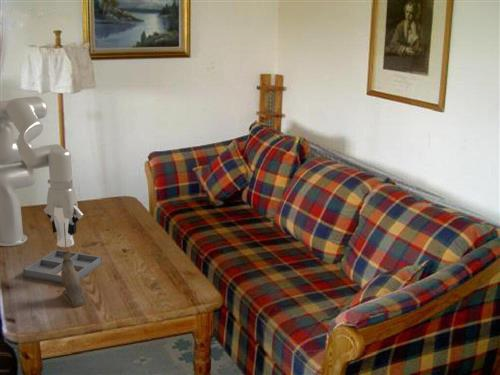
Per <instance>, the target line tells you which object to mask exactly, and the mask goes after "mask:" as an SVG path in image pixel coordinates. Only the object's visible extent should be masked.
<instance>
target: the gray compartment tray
mask: <svg viewBox="0 0 500 375" xmlns="http://www.w3.org/2000/svg"><path fill="white" fill-rule="evenodd" d="M66 251H67V250H61V249H55V250H53V251H52V252H50V253H48V254H47V255H45V256H44V257H42V258H40V259H37V261H35V262H33V263H32V264H30V265H28V266H26V267H25V268H23V277H24V278H28V279H35V280H39V281H45V282H51V283H56V284H59V285H60V284H61V285H63V282H62V276H61V272H62V271H63V265H62V264H63V260H64V259H63V253H64V252H66ZM69 252H70V253H71V255H72V256H71V258H70V260H72V262H73V265H74V269H76V272H77V275H78V279H79V281H81V279H83V278H85V277H86V276H88V274H90V273H92V272H93V271H94V269H95V270H96V269H97V268H99V267H100V266H101V265H103V257H102V256H97V255H93V254H92V255H91V254H88V253H87V254H85V253H79V252H73V251H69Z"/></svg>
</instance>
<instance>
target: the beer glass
mask: <svg viewBox="0 0 500 375" xmlns="http://www.w3.org/2000/svg"><path fill="white" fill-rule="evenodd" d="M53 217H54V224H55V228H56V231H57V232H56V246H57V247H58V248H69V247H73V245H75V240H74V236H73V235H74V234H73V235H70V233H69V225H70V222H69V218H65V217H64V214H63V208H60V207H54V216H53ZM72 219H73V217H72Z"/></svg>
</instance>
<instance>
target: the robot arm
mask: <svg viewBox="0 0 500 375" xmlns="http://www.w3.org/2000/svg"><path fill="white" fill-rule="evenodd" d="M47 114H48V107H47V104H46V101H45V100H44V99H43V98H42V97H39V96H28V97H17V98H12V99H11V100H10V99H8V100H6V99H5V100H0V166H4V167H0V246H1V247H16V246H20V245H22V244H24V243H26V242H27V241H28V236H27V235H26V234H24V231H23V230H24V229H23V218H22V207H21V206H22V205H21V200H20V197H19V196H18V195H17V194H16V193H15V192H14V191H15V190H19V189H24V188H29V187H32V186H34V185H35V183H36V180H37V179H36V178H37V176H36V174H37V173H36V170H38V169H43V168H48V173H49V179H48V180H47V184H49V187H48V190H47V196H46V206H45V208H44V209H43V212H44V213H45V214H46V215H47V217H48V219H49V221H50V222H51V225H52V226H51V227H52V233H57V231H56V228H55V224H54V217H53V216H54V207H60V208H63V214H64V217H65V218H69V222H70V225H69V233H70V235H74V234H76V233H77V223H78V222H79V221H80V220H81V219H82V218H83V216H84V213H83V212H82V211H81V210H80V208H78V207H79V206H78V198H77V193H76V189H75V188H74V187H73V170H72V169H73V168H72V167H73V166H72V154H71V151H70V150H69V149H66V148H64V147H63V146H62V145H60V144H49V145H41V146H34V145H33V144H32V141H33V140H35V139H37V138H39V136H40V135H41V134H42V132H43V130H44V125H43V123H42V121H41V119H44V118H45V117H46V116H47ZM10 123H13V125H14V127H15V128H16V130H17V131H18V134H19V135H18V137H17V138H15V134H14V133H15V132H14V128H13V127H12V125H11V124H10ZM19 163H20V164H19ZM11 164H15V165H11ZM16 164H17V165H16ZM5 165H10V166H5ZM72 217H73V219H72Z"/></svg>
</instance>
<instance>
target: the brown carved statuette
mask: <svg viewBox="0 0 500 375" xmlns="http://www.w3.org/2000/svg"><path fill="white" fill-rule="evenodd" d="M65 251H66V252H64V253H63V259H64V260H63V264H62V265H63V271H62V272H61V276H62V282H63V284H62V285H63V286H64V290H63V291H62V292H61V296H62V297H63V298H64V299H65V300H66V302H67V303H68V304H69V305H70V306H71V307H72V308H80V307H83V306H86V305H87V303H88V302H87V298H86V297H85V294H84V292H83V289H82V286H81V283H80V280H79V279H78V275H77V272H76V269H74V265H73V262H72V260H70V258H71V256H72V255H71V253H70V252H71V251H68V250H65Z"/></svg>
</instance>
